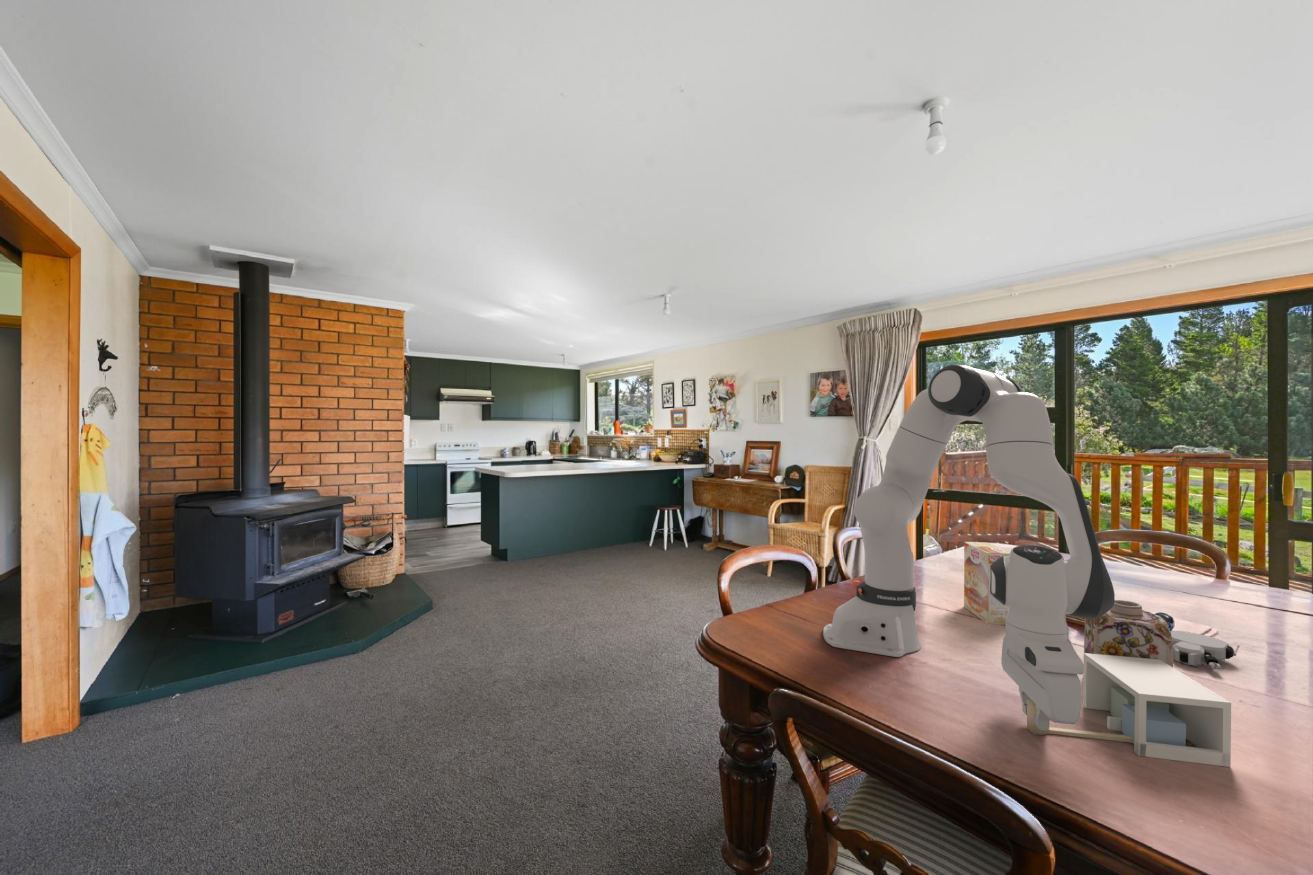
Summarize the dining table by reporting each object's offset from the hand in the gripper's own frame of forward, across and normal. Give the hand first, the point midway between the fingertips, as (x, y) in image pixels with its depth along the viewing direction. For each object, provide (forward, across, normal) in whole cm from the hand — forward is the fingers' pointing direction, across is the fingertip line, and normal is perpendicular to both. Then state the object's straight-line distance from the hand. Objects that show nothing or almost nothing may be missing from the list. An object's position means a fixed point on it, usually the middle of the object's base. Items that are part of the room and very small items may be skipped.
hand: (1035, 721), depth 92 cm
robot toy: (+2, -41, +49) cm, 64 cm away
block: (+2, -7, +19) cm, 21 cm away
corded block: (+2, 0, +9) cm, 10 cm away
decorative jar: (+2, -20, +24) cm, 31 cm away
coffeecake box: (+2, -63, +14) cm, 64 cm away
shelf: (+2, -4, +19) cm, 19 cm away
